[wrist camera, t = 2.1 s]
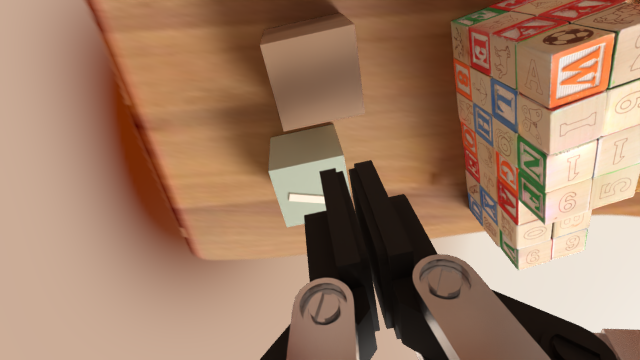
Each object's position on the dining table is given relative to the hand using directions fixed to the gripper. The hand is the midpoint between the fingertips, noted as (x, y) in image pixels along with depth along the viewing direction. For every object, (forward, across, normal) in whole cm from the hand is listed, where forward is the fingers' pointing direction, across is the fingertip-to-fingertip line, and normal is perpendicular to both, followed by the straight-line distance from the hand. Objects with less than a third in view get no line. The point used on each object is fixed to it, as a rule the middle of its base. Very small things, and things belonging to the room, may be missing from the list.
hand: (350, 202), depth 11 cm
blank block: (+19, 0, 0) cm, 19 cm away
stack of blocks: (+19, -16, +9) cm, 27 cm away
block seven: (+19, +2, +9) cm, 21 cm away
